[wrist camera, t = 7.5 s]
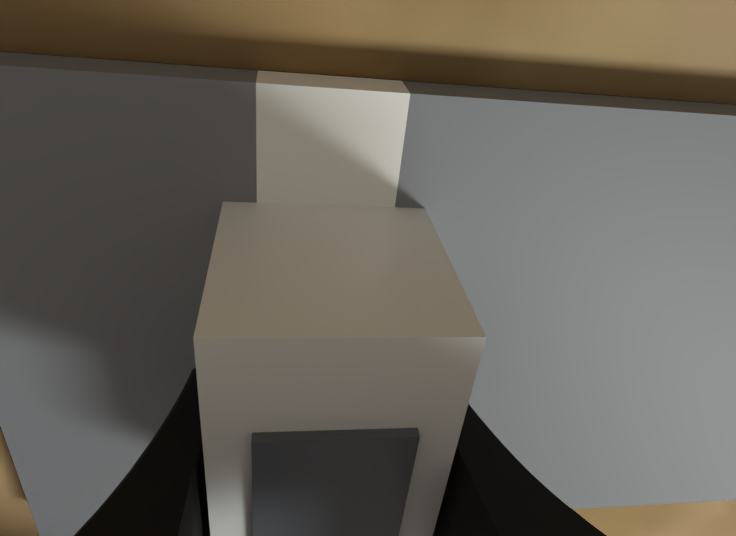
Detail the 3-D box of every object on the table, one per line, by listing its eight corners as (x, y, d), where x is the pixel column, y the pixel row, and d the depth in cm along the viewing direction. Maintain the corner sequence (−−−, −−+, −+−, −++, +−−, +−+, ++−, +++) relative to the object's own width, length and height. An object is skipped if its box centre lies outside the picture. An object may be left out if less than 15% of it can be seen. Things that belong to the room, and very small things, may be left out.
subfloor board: (765, 474, 22) (784, 497, 21) (52, 509, 18) (41, 538, 17) (1021, 125, 14) (1066, 138, 14) (-99, 44, 10) (-133, 56, 9)
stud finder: (380, 471, 17) (409, 636, 13) (234, 476, 16) (219, 654, 12) (425, 208, 12) (490, 345, 8) (222, 201, 12) (191, 347, 8)
